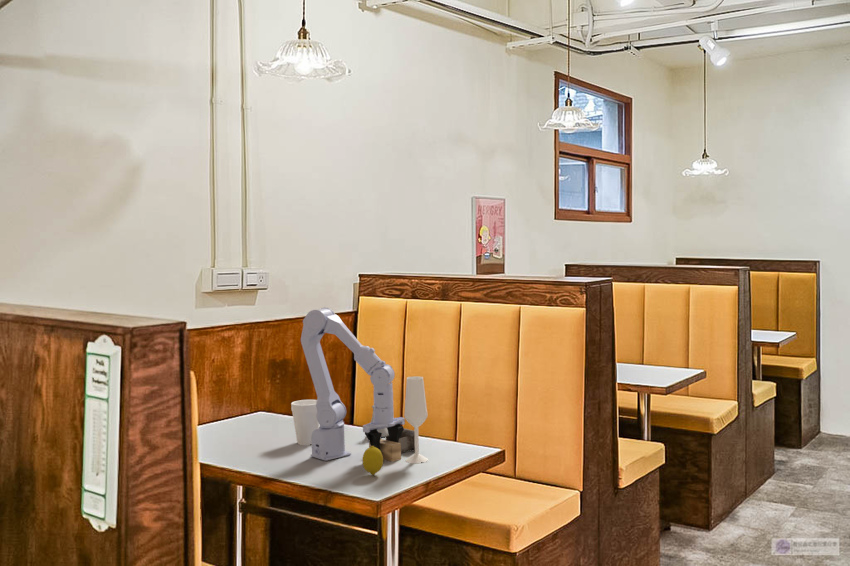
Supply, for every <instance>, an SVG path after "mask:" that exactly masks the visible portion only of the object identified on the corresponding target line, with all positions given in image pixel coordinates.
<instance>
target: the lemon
mask: <svg viewBox="0 0 850 566" xmlns="http://www.w3.org/2000/svg"><path fill="white" fill-rule="evenodd" d="M383 464H384V459H383V456H382V453H381V451H380V450H379V449H378V448H376V447H374V446H371V447H370V448H369V447H368V448H367V449H365V451H364V452H363V455H362V465H363V468H364V470H365V472H367V473H369V474H370V475H372V476H375V475H376V473H378V472H380V471H381V470H382V467H383Z"/></svg>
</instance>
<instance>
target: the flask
mask: <svg viewBox="0 0 850 566" xmlns="http://www.w3.org/2000/svg"><path fill="white" fill-rule="evenodd" d="M371 408H372V417H371V420H370V423H371V422H374V404H373V405H372V406H371ZM377 431H378V432H379V433H382V435H381V438H383V437H384V438H386V436H387V435H389V434H388V430H387V428H383V429H379V430H377Z"/></svg>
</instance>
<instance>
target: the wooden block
mask: <svg viewBox="0 0 850 566" xmlns="http://www.w3.org/2000/svg"><path fill="white" fill-rule="evenodd" d="M370 447H371V445H370V442H369V441H368V448H370ZM380 451H381V453H382V456H383V461H388V462H392V461H393V462H396V461H399V460H401V459H402V453H401V443H397V442H393V441H388V440H386V439H382V438H381V439H380Z"/></svg>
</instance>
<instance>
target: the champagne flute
mask: <svg viewBox="0 0 850 566" xmlns="http://www.w3.org/2000/svg"><path fill="white" fill-rule="evenodd" d="M426 398H427V397H426V391H425V382H424V376H417V375H416V376H407V377H406V385H405V400H404V413H403V414H404V418H405V421H407V423H408V424H410V425H411V427H413V429H414V437H415V451H414V454H412V455H411V456H410V457H408V458H406V460H405V462H406V463H408V462H409V464H422V463H421V462H424V463H427V462H428V461H429V460H428V459H429V458H427V457H425V455H423V454H421V453H420V443H419V442H420V441H419V440H420V439H419V427H421V426H422V425H423V423H425V421H426V420H427V418H428V409H427V407H428V406H427V399H426ZM427 460H428V461H427ZM426 461H427V462H426Z"/></svg>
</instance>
